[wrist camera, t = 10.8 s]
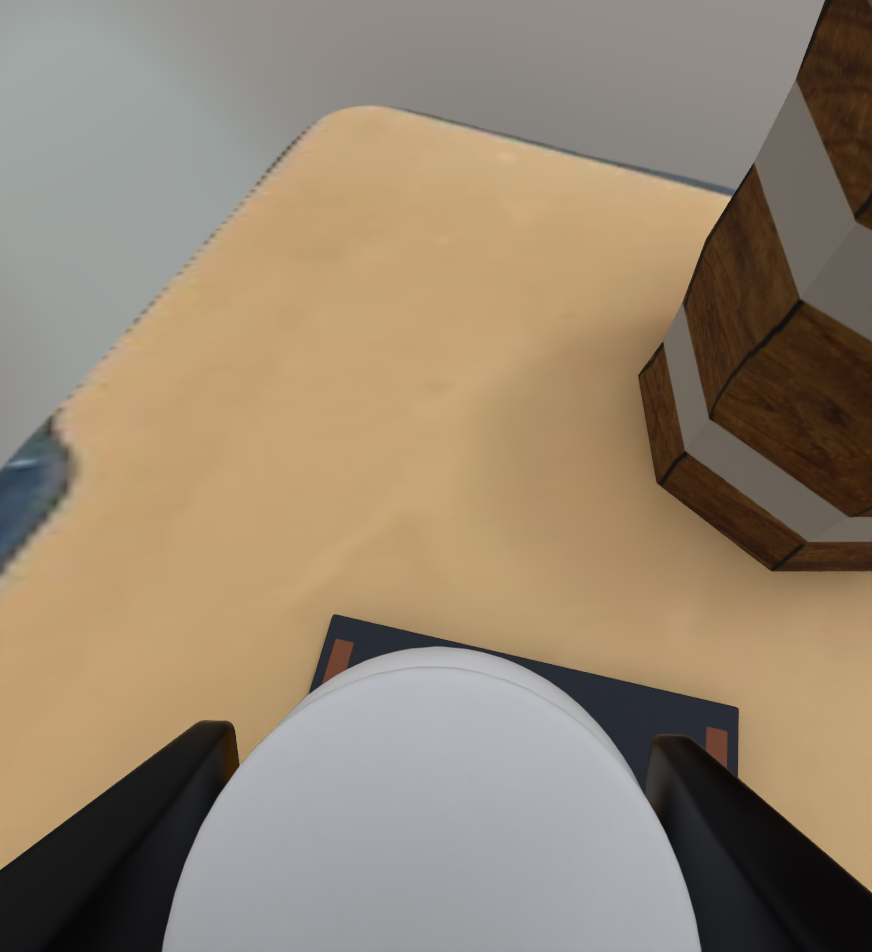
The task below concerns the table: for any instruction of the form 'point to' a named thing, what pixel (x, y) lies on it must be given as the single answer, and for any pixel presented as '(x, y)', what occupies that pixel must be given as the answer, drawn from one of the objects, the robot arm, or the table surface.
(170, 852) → the robot arm
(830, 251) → the mug
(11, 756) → the table surface
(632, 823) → the supplement bottle
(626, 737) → the placemat
